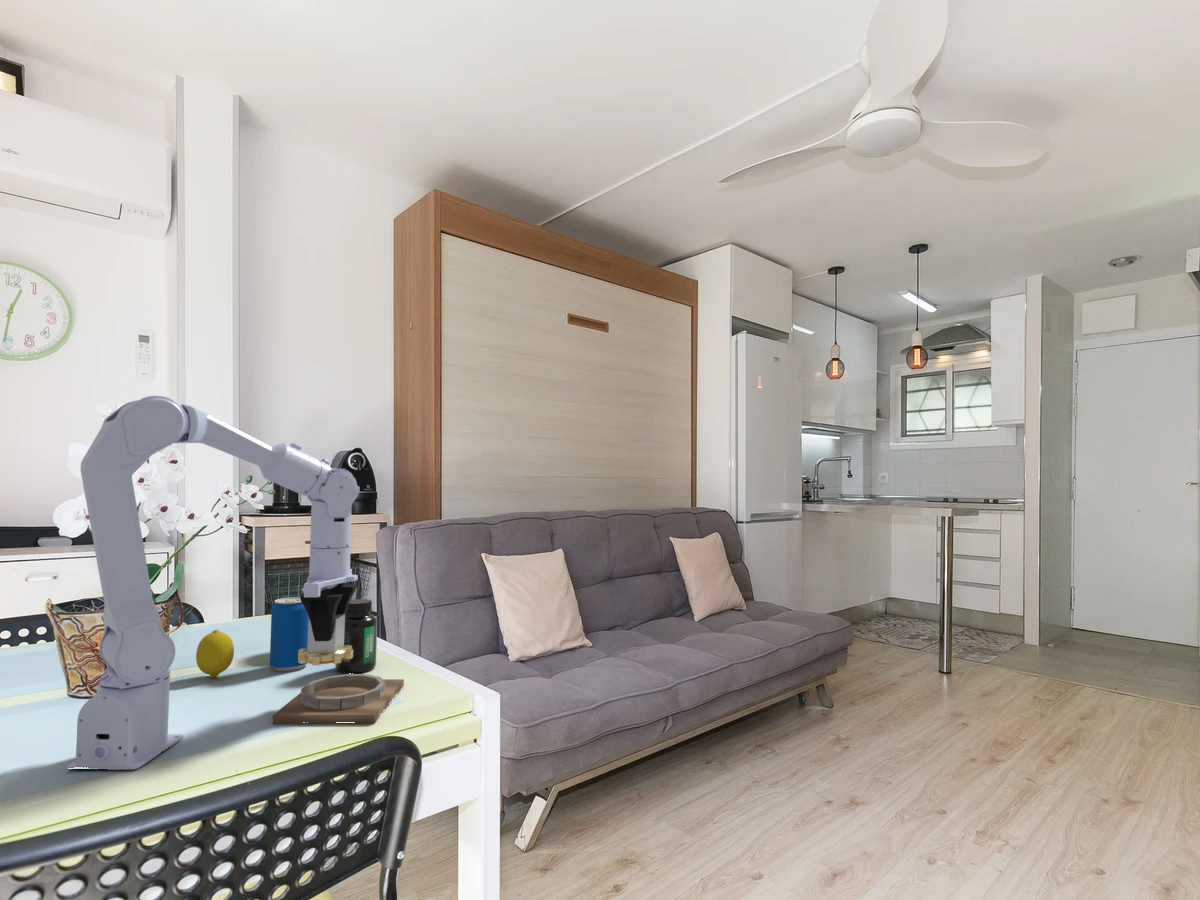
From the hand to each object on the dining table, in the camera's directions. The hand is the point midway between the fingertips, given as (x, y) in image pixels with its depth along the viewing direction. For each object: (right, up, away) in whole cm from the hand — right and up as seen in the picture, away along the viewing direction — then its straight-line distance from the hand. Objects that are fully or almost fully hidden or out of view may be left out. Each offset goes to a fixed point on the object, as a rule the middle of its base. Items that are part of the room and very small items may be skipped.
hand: (328, 636), depth 99 cm
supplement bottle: (-2, -11, +18) cm, 21 cm away
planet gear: (0, -3, 0) cm, 3 cm away
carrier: (+2, -10, 0) cm, 10 cm away
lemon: (-24, -11, +12) cm, 29 cm away
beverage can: (-14, -11, +18) cm, 26 cm away
